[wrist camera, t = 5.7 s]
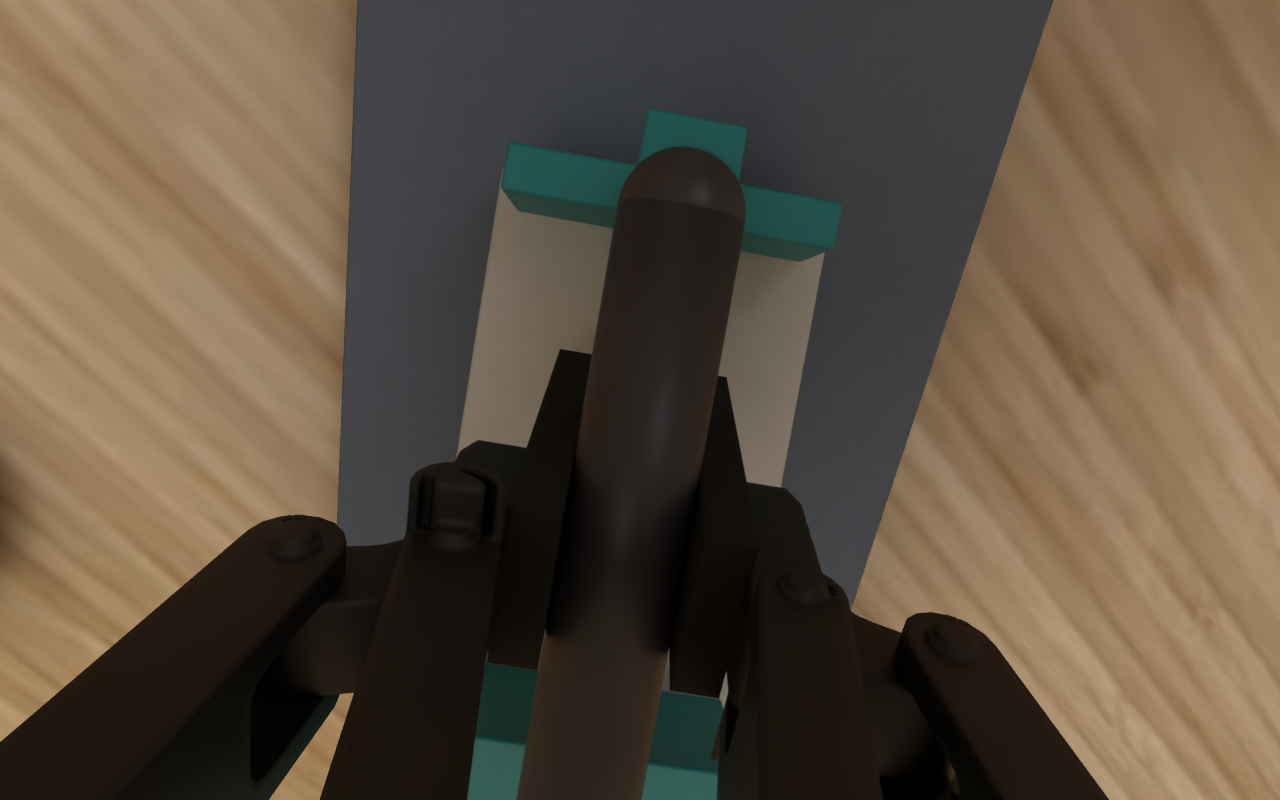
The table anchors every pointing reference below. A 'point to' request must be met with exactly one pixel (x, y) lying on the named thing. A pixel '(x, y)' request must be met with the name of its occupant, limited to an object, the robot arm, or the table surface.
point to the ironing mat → (612, 129)
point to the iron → (632, 431)
